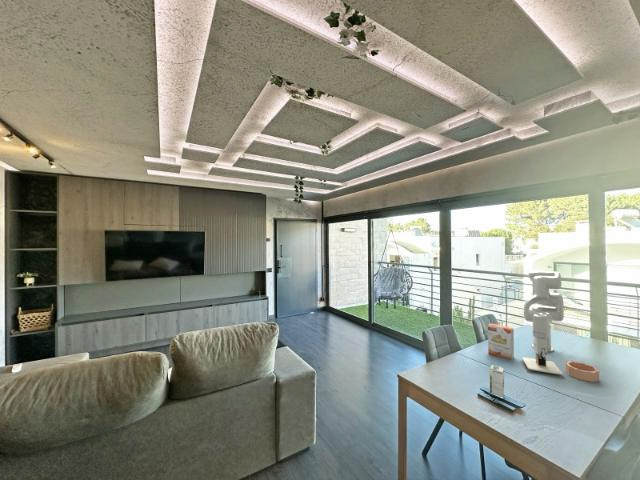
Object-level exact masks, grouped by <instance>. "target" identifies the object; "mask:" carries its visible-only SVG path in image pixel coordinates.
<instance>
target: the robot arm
mask: <svg viewBox="0 0 640 480" xmlns="http://www.w3.org/2000/svg"><path fill="white" fill-rule="evenodd" d="M528 277H529V280H530V281H531V282H532V296H531V297H530V298H528V299H527V300H526V301H525V302H524V306H523V318H524V320H525V321H526V322H529V323H530V322H531V323H532V337H533V341H532V342H533V343H532V344H531V347H532V348H533V350H534V351H535V355H536V354H539V365H543V366H546V361H547V355H548V352H554V351H555V349H554V347H552V340H551V339H552V335H551V334H552V332H551V331H552V329H551V325H550V324H551V323H553V322H562V321H563V320H564V316H565V314H564V298H563V295H562V294H560V293H555V292H550V290H561V288H562V276H561V273H560V272H558V271H549V270H547V271H545V270H532V271H529V272H528ZM535 304H537V305H535ZM532 305H534V306H533V307H532V309H531V310H530V307H531V306H532ZM541 355H542V356H541ZM545 357H546V358H545Z"/></svg>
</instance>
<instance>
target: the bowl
mask: <svg viewBox="0 0 640 480" xmlns="http://www.w3.org/2000/svg"><path fill="white" fill-rule="evenodd" d="M565 373H567V374H568V376H569V377H570V376H571V377H573V378H575V379H578V380H580V381H584V382H592V383H594V382H595V383H596V382H598V381H600V370H599V369H597V368H596V367H595V366H593V365H591V364H589V363H585V362H582V361H581V362H580V361H573V360H570V361H565Z"/></svg>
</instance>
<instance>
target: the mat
mask: <svg viewBox="0 0 640 480" xmlns="http://www.w3.org/2000/svg"><path fill="white" fill-rule="evenodd" d="M519 362H520V363H521V366H522V367H523V368H524V370H525V372H526V373H527V374H531V375H532V374H534V375H540V376H544V377H550V378H556V379H561V380H566V378H565V377H564V375H560V374H554V373H548V372H542V371H535V370H529V369H528V368H527V366H526V364H525V362H524V361H523V360H521V359H520V360H519Z"/></svg>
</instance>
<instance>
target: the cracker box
mask: <svg viewBox="0 0 640 480" xmlns="http://www.w3.org/2000/svg"><path fill="white" fill-rule="evenodd" d="M514 335H515V334H514V327H509V326H505V325H500V324H496V323H489V324H488V325H487V343H488V344H487V345H488V347H487V349H488V350H487V351H488V354H490V355H493V356H498V357H500V358H504V359H508V360H513V359H514V357H515V356H514V355H515V350H514V349H515V348H514V347H515V346H514V345H515V341H514V340H515V338H514Z"/></svg>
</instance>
